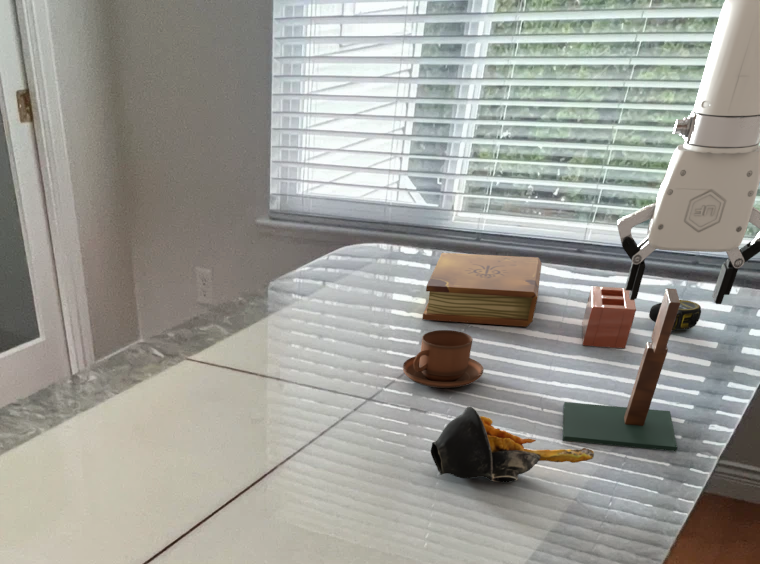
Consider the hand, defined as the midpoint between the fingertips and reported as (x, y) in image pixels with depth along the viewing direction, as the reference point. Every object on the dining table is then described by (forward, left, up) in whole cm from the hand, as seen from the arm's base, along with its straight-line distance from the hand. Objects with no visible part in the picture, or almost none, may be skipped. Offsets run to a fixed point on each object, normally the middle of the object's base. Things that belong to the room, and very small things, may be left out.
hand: (673, 298), depth 104 cm
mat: (+2, +1, -16) cm, 16 cm away
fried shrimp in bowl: (+16, +20, -16) cm, 31 cm away
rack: (+3, -37, -16) cm, 40 cm away
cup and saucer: (+27, -11, -16) cm, 34 cm away
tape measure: (-8, -43, -16) cm, 47 cm away
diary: (+24, -50, -16) cm, 58 cm away
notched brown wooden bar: (0, 0, -16) cm, 16 cm away
